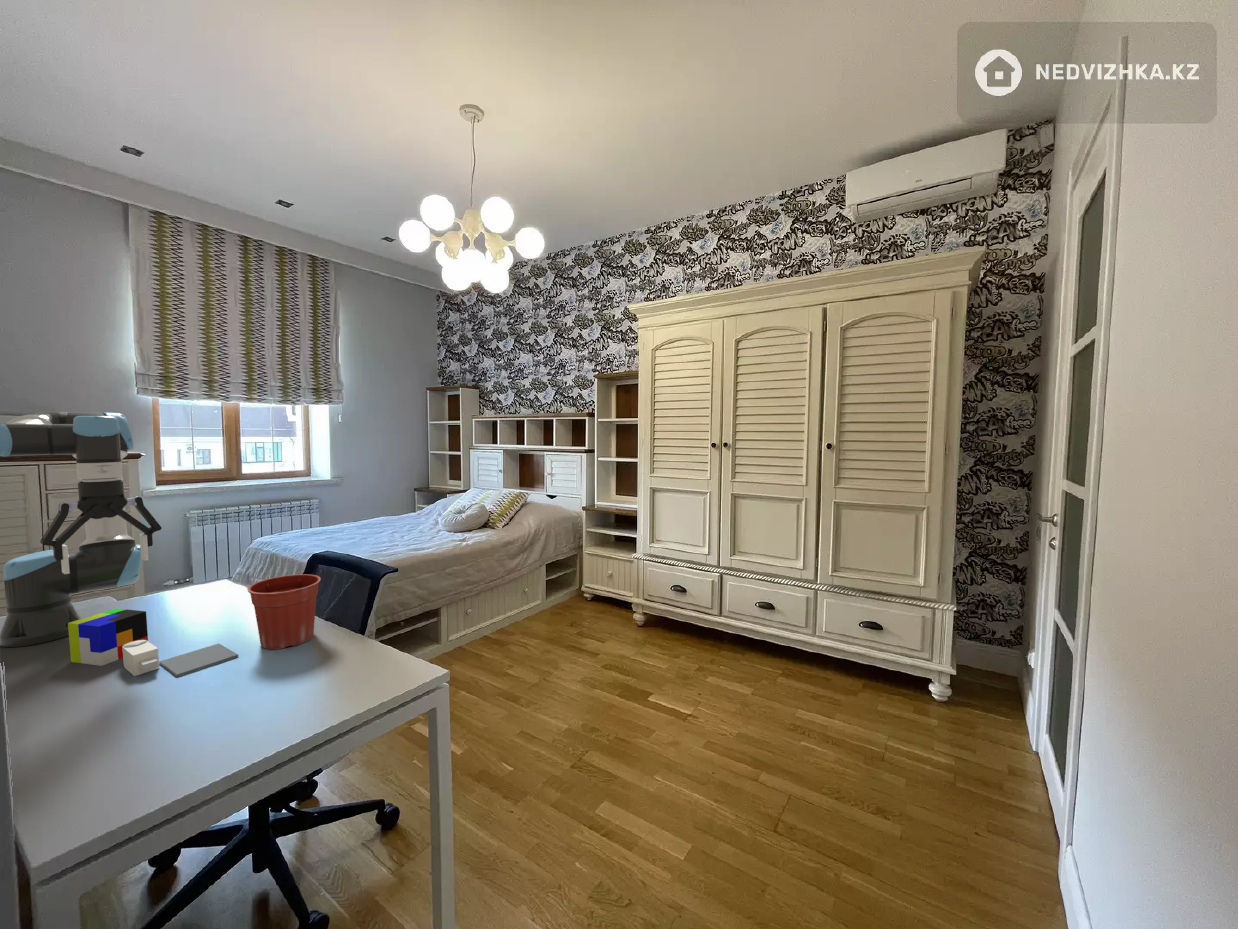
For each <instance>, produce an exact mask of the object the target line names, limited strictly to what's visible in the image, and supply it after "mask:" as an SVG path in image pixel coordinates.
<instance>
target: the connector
mask: <svg viewBox="0 0 1238 929" xmlns="http://www.w3.org/2000/svg"><path fill="white" fill-rule="evenodd" d="M122 649H123V658H122V660H123V661H122V662H123V668H125V670H127V671H128V672H129V673H130V674H131V675H132V676H134V677H136V676H140V675H142V674H146V673H149V672H152V671H156V670H158V669H160V664H159V660H160V659H159V658H160V656H159V648H158V647H157V646H156V645H154V644H153V643H151V642H150V641H149V640H148V641H147V640H138V641H133V642H130V643H127V644H125V645H123V646H122Z"/></svg>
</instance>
